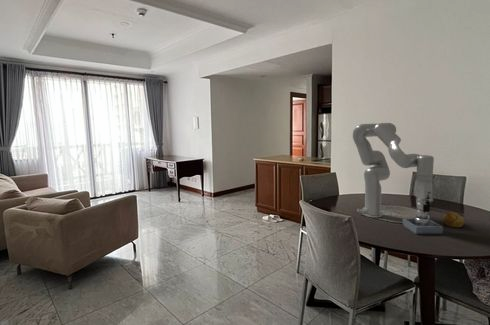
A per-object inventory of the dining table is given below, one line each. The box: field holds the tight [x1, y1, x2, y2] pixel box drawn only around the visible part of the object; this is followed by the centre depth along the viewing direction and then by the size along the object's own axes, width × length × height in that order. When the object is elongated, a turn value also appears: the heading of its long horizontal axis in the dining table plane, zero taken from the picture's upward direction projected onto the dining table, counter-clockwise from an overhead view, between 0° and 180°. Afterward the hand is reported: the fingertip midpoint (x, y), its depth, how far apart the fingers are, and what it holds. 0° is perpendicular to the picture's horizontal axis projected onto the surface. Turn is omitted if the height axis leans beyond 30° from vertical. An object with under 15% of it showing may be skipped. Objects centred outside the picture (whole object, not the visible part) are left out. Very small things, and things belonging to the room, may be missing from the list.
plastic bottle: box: [415, 198, 429, 226], centre depth 158 cm, size 6×7×20 cm
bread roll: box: [442, 211, 465, 228], centre depth 165 cm, size 13×10×8 cm
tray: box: [401, 217, 444, 235], centre depth 159 cm, size 14×14×4 cm
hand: (422, 209), depth 158 cm, fingers closed on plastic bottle, 6 cm apart
